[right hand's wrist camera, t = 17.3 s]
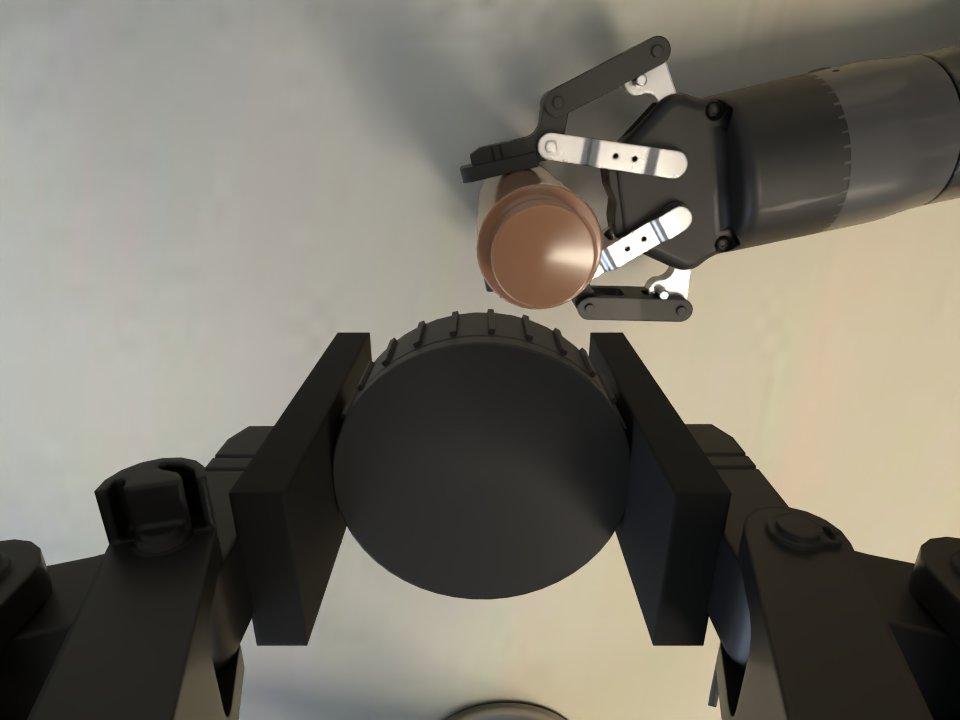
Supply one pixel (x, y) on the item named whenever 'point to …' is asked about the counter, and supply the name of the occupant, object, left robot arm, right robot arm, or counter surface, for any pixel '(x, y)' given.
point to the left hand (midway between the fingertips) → (475, 230)
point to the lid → (482, 457)
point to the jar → (536, 239)
